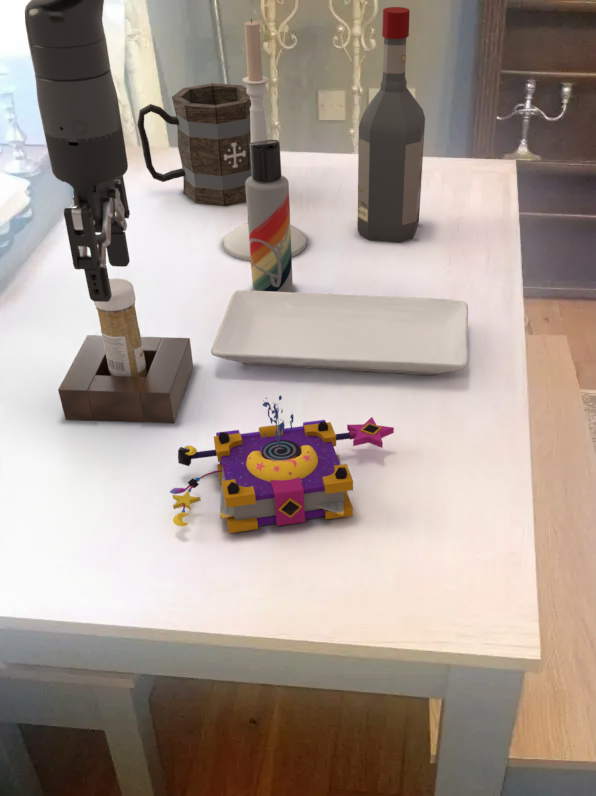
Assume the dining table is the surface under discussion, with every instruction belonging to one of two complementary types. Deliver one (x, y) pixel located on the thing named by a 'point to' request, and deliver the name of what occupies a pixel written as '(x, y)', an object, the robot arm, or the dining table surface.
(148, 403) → the hollow square block
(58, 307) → the dining table surface
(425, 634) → the dining table surface
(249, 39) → the candlestick
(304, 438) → the book
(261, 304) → the tray
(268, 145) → the lotion bottle
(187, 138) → the mug
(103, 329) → the sprinkles bottle
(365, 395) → the dining table surface
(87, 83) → the robot arm
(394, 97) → the liquor
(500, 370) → the dining table surface
